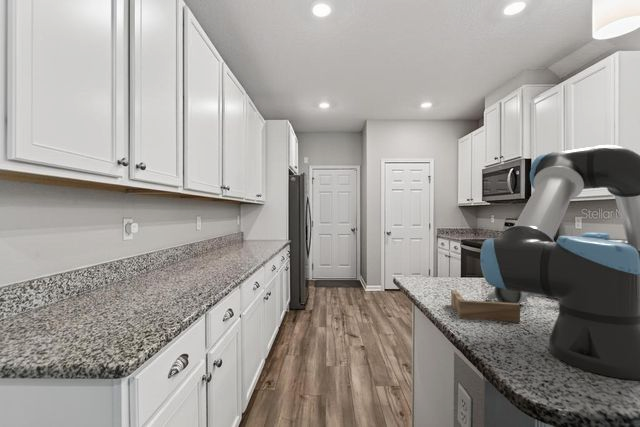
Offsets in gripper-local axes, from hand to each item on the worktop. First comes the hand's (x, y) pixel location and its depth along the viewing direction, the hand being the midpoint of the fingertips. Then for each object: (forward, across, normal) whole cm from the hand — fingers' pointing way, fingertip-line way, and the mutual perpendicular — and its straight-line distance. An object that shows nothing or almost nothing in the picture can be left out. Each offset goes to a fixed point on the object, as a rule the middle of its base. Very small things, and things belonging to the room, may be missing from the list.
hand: (528, 282), depth 98 cm
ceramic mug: (+10, 0, -6) cm, 11 cm away
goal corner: (+22, -3, -6) cm, 23 cm away
